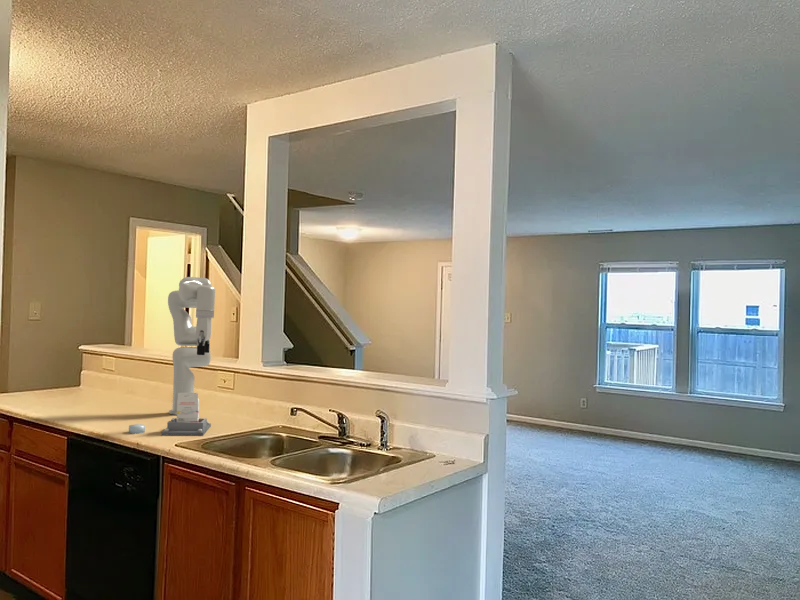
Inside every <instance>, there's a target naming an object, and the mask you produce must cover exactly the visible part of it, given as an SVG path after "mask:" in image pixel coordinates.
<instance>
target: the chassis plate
mask: <svg viewBox="0 0 800 600" xmlns="http://www.w3.org/2000/svg"><path fill="white" fill-rule="evenodd" d="M176 421H177V417H172V418H171V419H170V420H169V421H167V425H166V426H167V427H166V428H164V430H163V431H161V436H190V437H191V436H192V437H193V436H196V437H197V436H202V437H203V436H204V435H206V433H207V431H208V430H209V429H210V428H211V426H212V423H210V421H208V418H205V417H203V418H200V417H199V422H176Z"/></svg>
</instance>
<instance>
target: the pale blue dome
mask: <svg viewBox="0 0 800 600" xmlns="http://www.w3.org/2000/svg"><path fill="white" fill-rule="evenodd" d="M145 432H146V425H145V424H142V423H140V424H139V423H137V424H130V425H129V426H128V434H131V433H134V434H135V433H136V434H135V435H138V434H144V433H145Z"/></svg>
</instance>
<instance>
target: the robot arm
mask: <svg viewBox="0 0 800 600" xmlns="http://www.w3.org/2000/svg"><path fill="white" fill-rule="evenodd" d="M178 286H179V287H178V290H173V291H171V292H169V293H168V296H167V304H168V305H167V307H168V310H169V312H170V314H171V317H172V321H173V335H174V336H173V337H174V342H175V345H178V346H180V347H177V348H175V349H174V350H173V351H172V365H173V384H172V405H171V406H172V408H171V409H169V410H168V414H169V415H174V416H177V400H178V393H195V374H194V372H193V371H192V370H191V369H190V368H200V367H203V368H204V367H207V366H209V365H210V364H211V360H212V359H211V358H212V356H211V345H210V344H211V343H210V339H211V336H212V319H214V318H215V301H216V299H215V298H216V289H215V288H216V287H215V286H212V283H211V281H210V280H209V279H208V278H206V277H198V276H197V277H196V276H195V277H194V276H186V277H183V278H182V279H180V281H179V283H178ZM185 308H187V309H188V308H189V309H195V310H196V311H195V318H197V320H196V326H193V322H192V317H191V315H190V314H189V313H188V311H186V310H185ZM184 397H191V396H189V395H187V396H184Z"/></svg>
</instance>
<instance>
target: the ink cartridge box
mask: <svg viewBox="0 0 800 600" xmlns="http://www.w3.org/2000/svg"><path fill="white" fill-rule="evenodd" d="M187 395H189V396H191V397H184V396H187ZM199 414H200V398H199V393H198V392H194V393H178V400H177V415H176V418H177V421H176V422H199V418H200V415H199Z"/></svg>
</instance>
